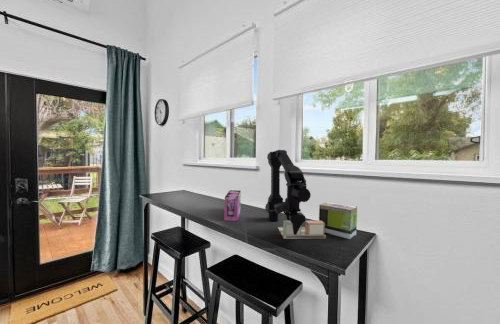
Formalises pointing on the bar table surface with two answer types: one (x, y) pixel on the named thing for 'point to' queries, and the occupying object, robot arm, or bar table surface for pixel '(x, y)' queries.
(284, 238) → the shelf board
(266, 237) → the bar table surface
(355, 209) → the tea box
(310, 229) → the pink box
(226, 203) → the gum box
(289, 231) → the sage carton
